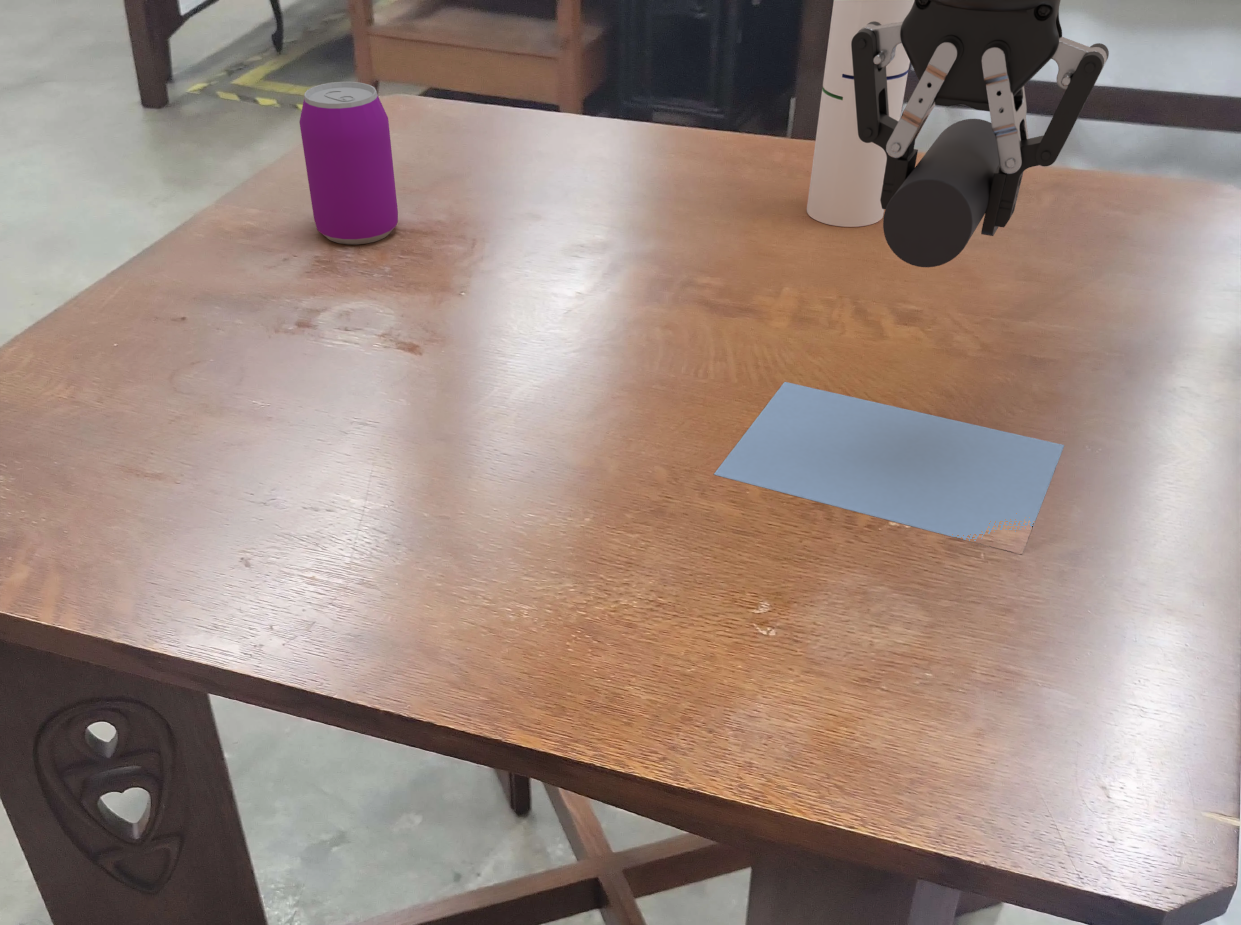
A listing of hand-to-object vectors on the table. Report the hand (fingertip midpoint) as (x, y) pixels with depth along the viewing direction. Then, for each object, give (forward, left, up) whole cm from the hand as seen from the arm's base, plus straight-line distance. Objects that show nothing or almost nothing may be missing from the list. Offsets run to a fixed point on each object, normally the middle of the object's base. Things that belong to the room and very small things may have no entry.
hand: (942, 222), depth 72 cm
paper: (0, +3, -15) cm, 15 cm away
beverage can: (+55, -14, -15) cm, 58 cm away
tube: (-1, 0, -1) cm, 1 cm away
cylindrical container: (+16, -38, -15) cm, 43 cm away
